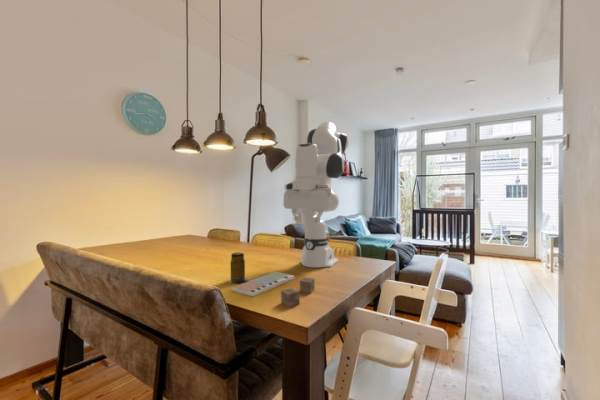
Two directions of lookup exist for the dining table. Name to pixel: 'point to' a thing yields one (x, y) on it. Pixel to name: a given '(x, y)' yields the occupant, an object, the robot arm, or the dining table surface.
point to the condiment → (238, 269)
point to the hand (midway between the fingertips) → (306, 221)
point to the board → (262, 283)
